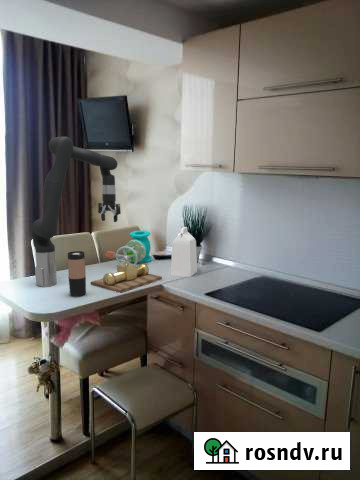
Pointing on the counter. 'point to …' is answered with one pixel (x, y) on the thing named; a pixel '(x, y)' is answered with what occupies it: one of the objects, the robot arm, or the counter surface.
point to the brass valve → (125, 273)
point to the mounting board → (128, 283)
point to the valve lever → (116, 255)
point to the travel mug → (77, 273)
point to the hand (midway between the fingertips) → (109, 221)
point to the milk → (184, 254)
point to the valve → (137, 248)
